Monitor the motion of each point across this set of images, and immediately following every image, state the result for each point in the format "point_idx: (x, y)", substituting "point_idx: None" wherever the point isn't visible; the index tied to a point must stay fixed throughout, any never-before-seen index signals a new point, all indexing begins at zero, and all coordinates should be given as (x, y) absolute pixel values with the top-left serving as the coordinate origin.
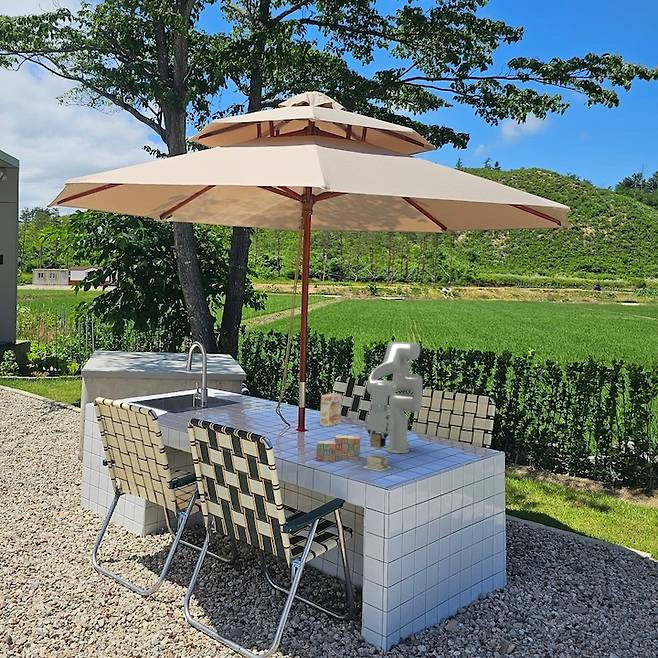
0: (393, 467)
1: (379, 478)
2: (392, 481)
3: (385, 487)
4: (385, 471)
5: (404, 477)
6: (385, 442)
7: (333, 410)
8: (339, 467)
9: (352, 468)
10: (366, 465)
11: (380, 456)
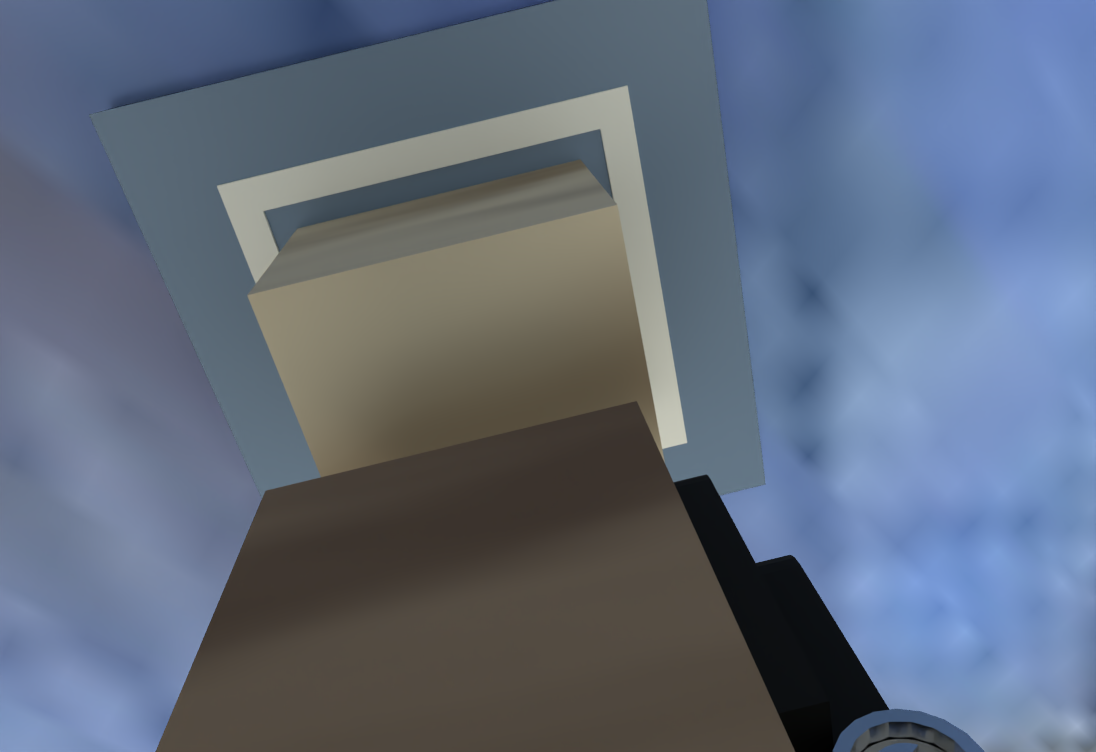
0: (667, 49)
1: (830, 574)
2: (1033, 526)
3: (1090, 722)
4: (752, 380)
5: (1067, 248)
6: (823, 607)
7: None
8: (73, 686)
9: (208, 574)
10: (275, 402)
11: (470, 311)
